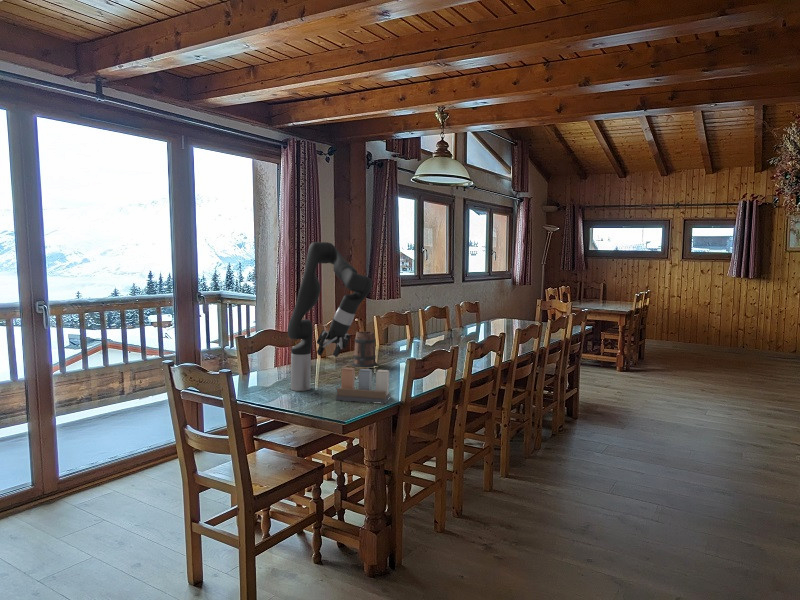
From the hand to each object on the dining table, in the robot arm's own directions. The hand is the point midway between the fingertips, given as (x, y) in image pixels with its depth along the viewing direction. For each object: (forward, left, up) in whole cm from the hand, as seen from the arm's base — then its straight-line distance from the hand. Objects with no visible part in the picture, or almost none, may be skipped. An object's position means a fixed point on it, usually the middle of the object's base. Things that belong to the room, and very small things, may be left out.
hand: (327, 355), depth 221 cm
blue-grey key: (-21, +18, -21) cm, 34 cm away
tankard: (-90, +24, -23) cm, 96 cm away
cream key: (-18, +25, -21) cm, 38 cm away
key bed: (-19, +17, -23) cm, 35 cm away
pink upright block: (-23, +10, -21) cm, 33 cm away
